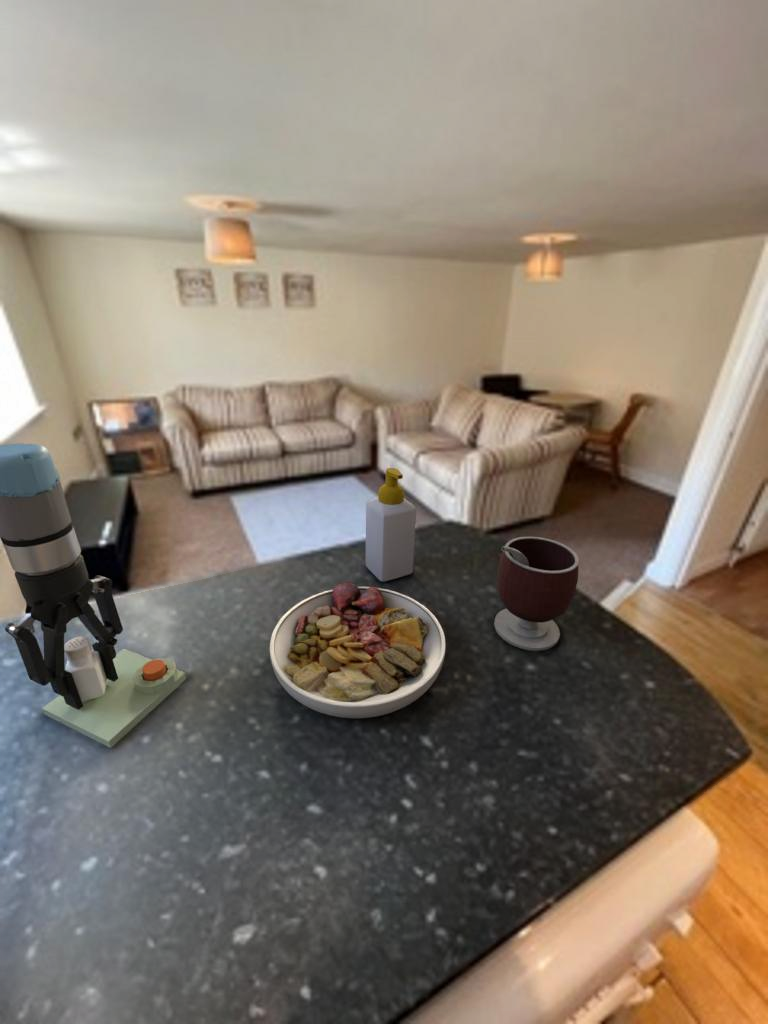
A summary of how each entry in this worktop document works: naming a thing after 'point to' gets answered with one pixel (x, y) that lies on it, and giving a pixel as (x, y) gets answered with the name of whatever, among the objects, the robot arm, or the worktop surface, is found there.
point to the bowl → (357, 651)
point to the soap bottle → (390, 530)
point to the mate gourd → (534, 590)
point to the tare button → (154, 670)
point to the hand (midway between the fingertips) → (93, 690)
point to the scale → (118, 700)
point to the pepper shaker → (85, 668)
